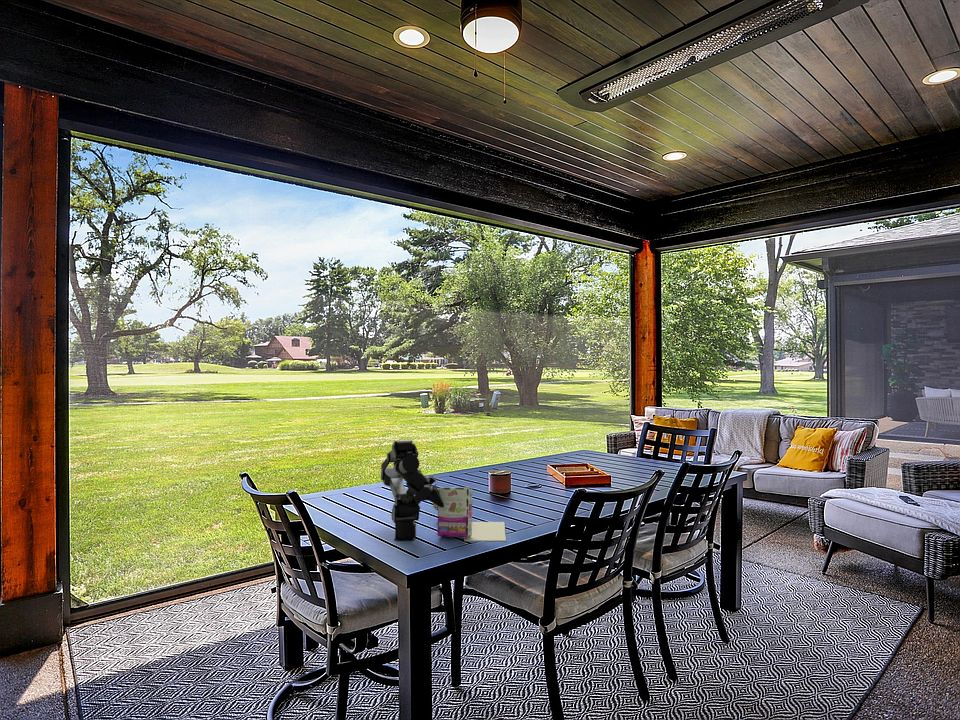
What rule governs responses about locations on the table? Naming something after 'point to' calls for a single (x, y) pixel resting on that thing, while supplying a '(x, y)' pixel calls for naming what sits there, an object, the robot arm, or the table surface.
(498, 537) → the placemat
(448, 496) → the candy bar box
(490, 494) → the table surface
